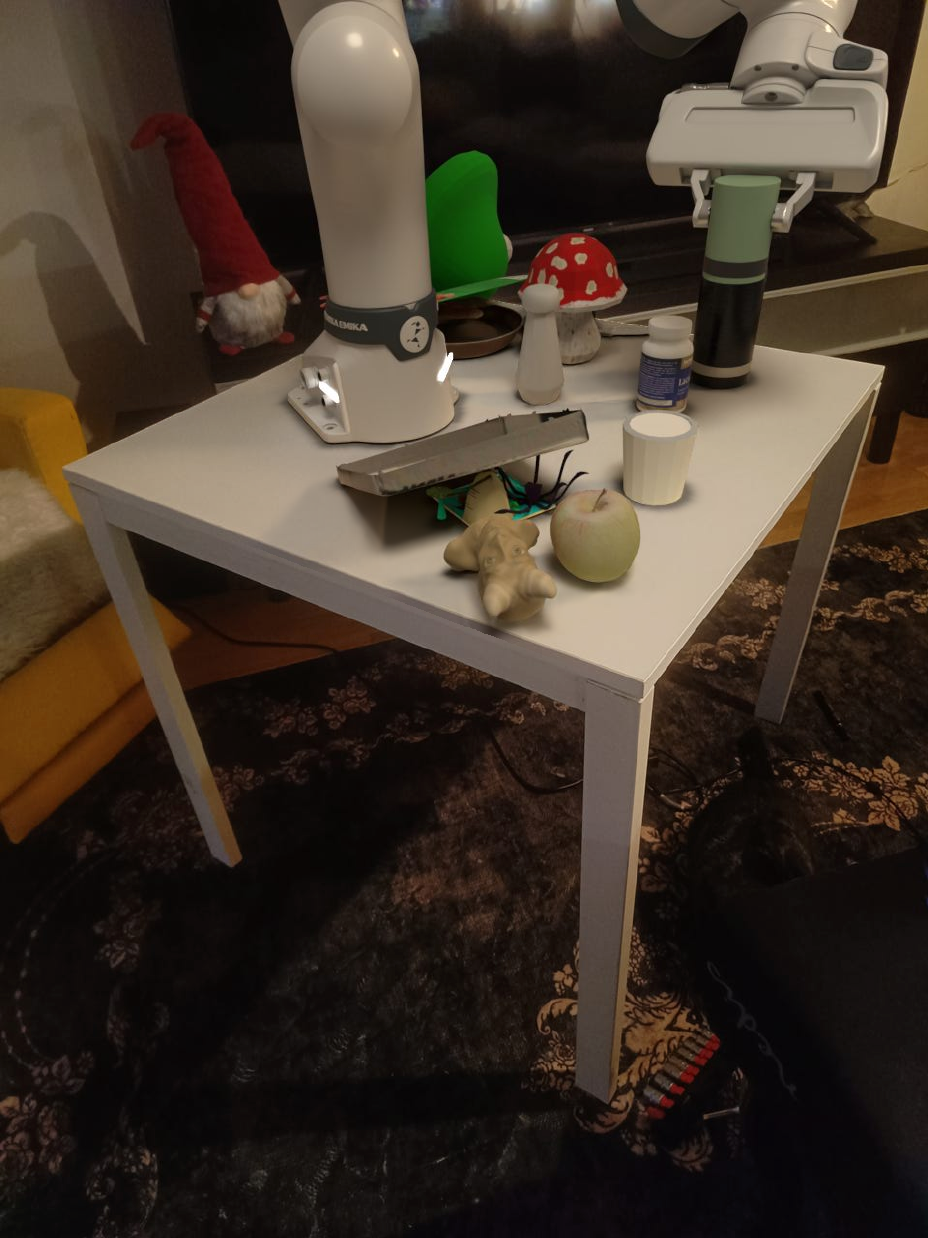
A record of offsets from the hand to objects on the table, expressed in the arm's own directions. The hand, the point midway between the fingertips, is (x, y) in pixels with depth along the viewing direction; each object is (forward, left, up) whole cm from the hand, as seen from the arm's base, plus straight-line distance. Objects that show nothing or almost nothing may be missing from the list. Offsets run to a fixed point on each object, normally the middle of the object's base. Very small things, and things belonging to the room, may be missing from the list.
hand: (739, 226), depth 72 cm
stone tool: (-42, +6, -17) cm, 46 cm away
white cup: (+2, -11, -22) cm, 25 cm away
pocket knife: (-30, +18, -21) cm, 41 cm away
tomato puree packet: (-44, -8, -14) cm, 46 cm away
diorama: (-5, -24, -21) cm, 33 cm away
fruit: (+8, -26, -21) cm, 34 cm away
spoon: (-39, +10, -19) cm, 44 cm away
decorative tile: (-13, -36, -17) cm, 42 cm away
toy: (-62, +9, -9) cm, 63 cm away
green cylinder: (0, +1, -4) cm, 4 cm away
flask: (-11, +16, -21) cm, 29 cm away
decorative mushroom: (-29, +8, -21) cm, 37 cm away
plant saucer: (-44, +2, -22) cm, 49 cm away
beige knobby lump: (+1, -31, -18) cm, 36 cm away
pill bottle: (-10, +4, -22) cm, 24 cm away
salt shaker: (-22, -4, -22) cm, 31 cm away
